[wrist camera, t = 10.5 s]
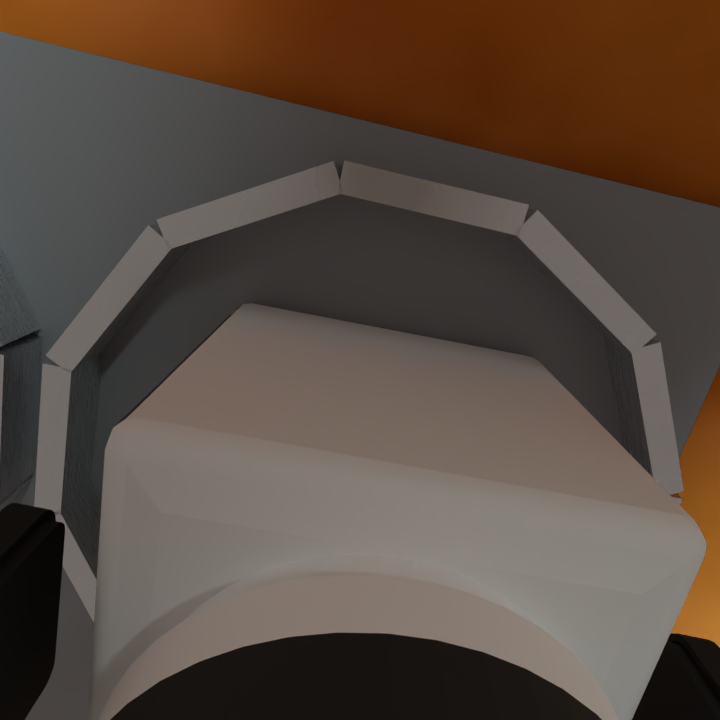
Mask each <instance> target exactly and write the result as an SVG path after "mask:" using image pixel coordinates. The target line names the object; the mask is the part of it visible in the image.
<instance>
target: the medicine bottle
mask: <svg viewBox="0 0 720 720" xmlns="http://www.w3.org/2000/svg"><path fill="white" fill-rule="evenodd" d="M706 546H707V543H706V540H705V538H704V536H703V534H702V532H701V530H700V528H699V527H698V525H697V523H696V521H695V520H694V519H693V518H692V517H691V516H690V515H689V514H688V513H687V512H686V511H685V510H684V509H683V508H682V507H681V506H680V505H679V504H678V503H677V502H676V501H675V500H674V499H673V498H672V497H671V496H670V495H669V494H668V493H667V492H666V491H665V490H664V489H663V487H662V486H661V485H660V484H659V483H658V482H657V481H656V480H655V479H654V478H653V477H652V476H651V475H650V474H649V473H648V472H647V471H646V470H645V469H644V468H643V467H642V466H641V465H640V464H639V463H638V462H637V461H636V460H635V459H634V458H633V457H632V456H631V455H630V454H629V453H628V452H627V451H626V450H625V449H624V448H623V447H622V446H621V445H620V443H619V442H618V441H617V440H616V439H615V438H614V437H613V436H612V435H611V434H610V433H609V432H608V431H607V430H606V429H605V428H604V427H603V426H602V425H601V424H600V423H599V422H598V421H597V420H596V419H595V418H594V417H593V416H592V415H591V414H590V413H589V412H588V411H587V410H586V409H585V408H584V407H583V406H582V405H581V404H580V403H579V402H578V401H577V399H576V398H575V397H574V396H573V395H572V394H571V393H570V392H569V391H568V390H567V389H566V388H565V387H564V386H563V385H562V384H561V383H560V382H559V381H558V380H557V379H556V378H555V377H554V376H553V375H552V374H551V373H550V372H549V371H548V370H547V369H546V368H545V367H544V366H543V365H542V364H541V363H540V362H539V361H538V360H537V359H535V358H533V357H530V356H525V355H520V354H515V353H509V352H504V351H499V350H494V349H489V348H483V347H478V346H473V345H468V344H462V343H457V342H452V341H447V340H442V339H436V338H431V337H426V336H421V335H415V334H410V333H405V332H400V331H394V330H389V329H384V328H379V327H374V326H368V325H363V324H358V323H353V322H347V321H342V320H337V319H332V318H327V317H321V316H316V315H311V314H306V313H300V312H295V311H290V310H285V309H280V308H274V307H269V306H264V305H259V304H253V303H248V304H243V305H241V306H240V307H238V308H237V309H236V310H235V311H234V312H233V313H232V314H230V315H229V316H228V317H227V318H226V319H225V320H224V321H223V322H222V323H221V324H220V325H219V326H218V327H217V328H216V329H215V330H214V331H213V332H212V333H211V334H210V335H209V336H208V337H207V338H206V339H205V340H203V341H202V342H201V343H200V344H199V345H198V346H197V347H196V348H195V349H194V350H193V351H192V352H191V353H190V354H189V355H188V356H187V357H186V358H185V359H184V360H183V361H182V362H181V363H180V364H179V365H178V366H176V367H175V368H174V369H173V370H172V371H171V372H170V373H169V374H168V375H167V376H166V377H165V378H164V379H163V380H162V381H161V382H160V383H159V384H158V385H157V386H156V387H155V388H154V389H153V390H152V391H151V392H149V393H148V394H147V395H146V396H145V397H144V398H143V399H142V400H141V401H140V402H139V403H138V404H137V405H136V406H135V407H134V408H133V409H132V410H131V411H130V412H129V413H128V414H127V415H126V416H125V417H124V418H122V419H121V420H120V421H119V422H118V423H117V424H116V425H115V426H114V427H113V429H112V432H111V434H110V437H109V439H108V442H107V445H106V448H105V456H104V472H103V487H102V503H101V519H100V535H99V551H98V567H97V582H96V598H95V614H94V630H93V646H92V662H91V678H90V693H89V709H88V720H632V718H633V716H634V714H635V711H636V709H637V707H638V705H639V702H640V700H641V698H642V696H643V694H644V691H645V689H646V687H647V685H648V682H649V680H650V678H651V676H652V673H653V671H654V669H655V667H656V664H657V662H658V660H659V658H660V656H661V653H662V651H663V649H664V647H665V644H666V642H667V640H668V638H669V635H670V633H671V631H672V629H673V626H674V624H675V622H676V620H677V618H678V615H679V613H680V611H681V609H682V606H683V604H684V602H685V600H686V597H687V595H688V593H689V591H690V588H691V586H692V584H693V582H694V580H695V577H696V575H697V573H698V571H699V568H700V566H701V564H702V562H703V559H704V557H705V553H706Z"/></svg>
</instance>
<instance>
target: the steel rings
mask: <svg viewBox="0 0 720 720" xmlns="http://www.w3.org/2000/svg"><path fill="white" fill-rule="evenodd" d="M339 194H343V195H347V196H352V197H356V198H360V199H364V200H369V201H373V202H377V203H381V204H386V205H390V206H394V207H398V208H402V209H407V210H411V211H415V212H419V213H424V214H428V215H432V216H436V217H441V218H445V219H449V220H453V221H458V222H462V223H466V224H470V225H474V226H479V227H483V228H487V229H491V230H496V231H500V232H502V233H503V234H504V235H505V236H506V237H507V238H508V239H509V240H510V241H511V242H512V243H513V244H514V245H515V246H516V247H517V248H518V249H519V250H520V251H521V252H522V253H523V254H524V255H525V256H526V257H527V258H528V259H529V260H530V261H531V262H532V263H533V265H534V266H535V267H536V268H537V269H538V270H539V271H540V272H541V273H542V274H543V275H544V276H545V277H546V278H547V279H548V280H549V281H550V282H551V283H552V284H553V285H554V286H555V287H556V288H557V289H558V290H559V291H560V292H561V293H562V294H563V295H564V296H565V297H566V298H567V299H568V300H569V301H570V302H571V303H572V304H573V305H574V306H575V307H576V308H577V309H578V310H579V311H580V312H581V313H582V314H583V315H584V316H585V317H586V318H587V319H588V320H589V321H590V322H591V323H592V324H593V325H594V326H595V327H596V329H597V330H598V331H599V332H600V333H601V334H602V336H603V341H604V346H605V352H606V357H607V362H608V368H609V373H610V378H611V384H612V389H613V394H614V400H615V405H616V410H617V416H618V421H619V426H620V432H621V437H622V442H623V448H624V449H625V450H626V451H627V452H628V453H629V454H630V455H631V456H632V457H633V458H634V459H635V460H636V461H637V462H638V463H639V464H640V465H641V466H642V467H643V468H644V469H645V470H646V471H647V472H648V473H649V474H650V475H651V476H652V477H653V478H654V479H655V480H656V481H657V482H658V483H659V484H660V485H661V486H662V487H663V489H664V490H665V491H666V492H667V493H668V494H669V495H670V496H671V497H672V498H673V499H674V500H675V501H676V502H677V503H678V504H679V505H680V504H681V502H682V500H683V499H682V498H681V497H680V496H679V495H678V494H677V493H679V492H683V491H684V488H683V482H682V476H681V469H680V463H679V457H678V450H677V444H676V437H675V431H674V425H673V418H672V412H671V405H670V399H669V393H668V386H667V380H666V373H665V367H664V361H663V354H662V348H661V342H659V341H658V340H656V339H654V338H653V337H654V336H655V335H656V333H655V332H654V331H653V330H652V329H651V328H650V327H649V326H648V325H647V324H646V322H645V321H644V320H643V319H642V318H641V317H640V316H639V315H638V314H637V313H636V312H635V311H634V310H633V309H632V308H631V307H630V306H629V305H628V304H627V303H626V302H625V301H624V299H623V298H622V297H621V296H620V295H619V294H618V293H617V292H616V291H615V290H614V289H613V288H612V287H611V286H610V285H609V284H608V283H607V282H606V281H605V280H604V279H603V277H602V276H601V275H600V274H599V273H598V272H597V271H596V270H595V269H594V268H593V267H592V266H591V265H590V264H589V263H588V262H587V261H586V260H585V259H584V258H583V257H582V256H581V254H580V253H579V252H578V251H577V250H576V249H575V248H574V247H573V246H572V245H571V244H570V243H569V242H568V241H567V240H566V239H565V238H564V237H563V236H562V235H561V234H560V232H559V231H558V230H557V229H556V228H555V227H554V226H553V225H552V224H551V223H550V222H549V221H548V220H547V219H546V218H545V217H544V216H543V215H542V214H541V213H540V212H539V211H538V210H536V209H529V208H528V206H529V205H528V204H524V203H520V202H515V201H511V200H507V199H503V198H499V197H495V196H490V195H486V194H482V193H478V192H474V191H470V190H465V189H461V188H457V187H453V186H449V185H445V184H440V183H436V182H432V181H428V180H424V179H420V178H415V177H411V176H407V175H403V174H399V173H395V172H390V171H386V170H382V169H378V168H374V167H369V166H365V165H361V164H357V163H353V162H349V161H344V164H343V169H342V174H341V173H340V170H339V167H338V164H337V163H336V162H335V161H332V162H329V163H326V164H323V165H320V166H317V167H314V168H311V169H308V170H305V171H302V172H299V173H295V174H292V175H289V176H286V177H283V178H280V179H277V180H274V181H271V182H268V183H265V184H262V185H259V186H256V187H253V188H250V189H247V190H244V191H241V192H238V193H235V194H232V195H229V196H226V197H223V198H220V199H217V200H214V201H211V202H208V203H205V204H202V205H199V206H196V207H193V208H190V209H187V210H184V211H181V212H178V213H174V214H171V215H168V216H165V217H162V218H159V219H156V220H157V222H158V223H157V224H152V225H148V226H147V227H146V229H145V230H144V231H143V232H142V234H141V235H140V236H139V238H138V239H137V240H136V241H135V243H134V244H133V245H132V246H131V248H130V249H129V250H128V251H127V253H126V254H125V255H124V257H123V258H122V259H121V260H120V262H119V263H118V264H117V265H116V267H115V268H114V269H113V270H112V272H111V273H110V274H109V276H108V277H107V278H106V279H105V281H104V282H103V283H102V284H101V286H100V287H99V288H98V290H97V291H96V292H95V293H94V295H93V296H92V297H91V298H90V300H89V301H88V302H87V303H86V305H85V306H84V307H83V309H82V310H81V311H80V312H79V314H78V315H77V316H76V317H75V319H74V320H73V321H72V322H71V324H70V325H69V326H68V328H67V329H66V330H65V331H64V333H63V334H62V335H61V336H60V338H59V339H58V340H57V341H56V343H55V344H54V345H53V347H52V348H51V349H50V350H49V352H48V353H47V354H46V356H47V357H48V358H50V359H49V360H48V361H46V362H44V363H43V365H42V352H43V336H39V335H34V334H30V333H32V332H34V331H36V330H39V329H41V326H40V324H39V322H38V320H37V318H36V316H35V314H34V312H33V310H32V308H31V306H30V303H29V301H28V299H27V297H26V295H25V293H24V291H23V289H22V287H21V285H20V283H19V281H18V279H17V277H16V275H15V273H14V271H13V269H12V267H11V265H10V263H9V261H8V259H7V257H6V255H5V253H4V251H3V249H2V247H1V245H0V511H1V510H2V509H3V508H4V507H6V506H7V505H9V504H10V503H12V501H13V500H14V499H15V498H16V497H17V495H18V494H19V493H20V492H21V491H22V489H23V488H24V487H25V486H26V485H27V484H28V482H29V481H30V480H31V479H32V478H33V476H31V474H32V473H33V472H35V471H36V484H35V501H34V507H40V508H45V509H50V510H52V511H54V513H55V516H56V521H57V522H62V523H64V525H65V540H64V552H63V565H62V566H63V568H64V569H65V571H66V573H67V575H68V577H69V578H70V580H71V582H72V584H73V586H74V588H75V589H76V591H77V593H78V595H79V597H80V598H81V600H82V602H83V604H84V606H85V607H86V609H87V611H88V613H89V615H90V617H91V618H92V620H93V622H94V614H95V598H96V582H97V567H98V551H99V535H100V519H101V503H102V500H101V498H100V496H99V494H98V492H97V490H96V488H95V486H94V484H93V482H92V480H91V478H92V467H93V456H94V445H95V434H96V424H97V413H98V402H99V391H100V380H101V370H102V359H103V351H104V350H105V349H106V348H107V346H108V345H109V344H110V343H111V341H112V340H113V339H114V338H115V337H116V335H117V334H118V333H119V332H120V330H121V329H122V328H123V327H124V326H125V324H126V323H127V322H128V321H129V320H130V318H131V317H132V316H133V315H134V313H135V312H136V311H137V310H138V309H139V307H140V306H141V305H142V304H143V302H144V301H145V300H146V299H147V298H148V296H149V295H150V294H151V293H152V291H153V290H154V289H155V288H156V287H157V285H158V284H159V283H160V282H161V281H162V279H163V278H164V277H165V276H166V274H167V273H168V272H169V271H170V270H171V268H172V267H173V266H174V265H175V263H176V262H177V261H178V260H179V259H180V257H181V256H182V255H183V254H184V252H185V251H186V250H187V249H188V248H189V246H190V245H191V244H192V243H193V242H194V241H197V240H200V239H203V238H206V237H209V236H212V235H215V234H218V233H221V232H224V231H227V230H231V229H234V228H237V227H240V226H243V225H246V224H249V223H252V222H255V221H258V220H261V219H264V218H268V217H271V216H274V215H277V214H280V213H283V212H286V211H289V210H292V209H295V208H298V207H301V206H305V205H308V204H311V203H314V202H317V201H320V200H323V199H326V198H329V197H332V196H335V195H339ZM41 369H42V382H41ZM40 386H41V399H40ZM39 403H40V416H39ZM38 420H39V433H38ZM37 438H38V450H37ZM36 455H37V467H36Z"/></svg>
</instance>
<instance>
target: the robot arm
mask: <svg viewBox="0 0 720 720" xmlns="http://www.w3.org/2000/svg"><path fill="white" fill-rule="evenodd" d="M64 540H65V525H64V523H62V522H57V521H56V516H55V513H54V511H52V510H50V509H45V508H40V507H34V506H29V505H24V504H19V503H10V504H9V505H7V506H6V507H4V508H3V509H2V510H1V511H0V720H25V718H26V717H27V715H28V714H29V712H30V711H31V709H32V707H33V706H34V704H35V703H36V701H37V700H38V698H39V696H40V695H41V693H42V692H43V690H44V688H45V687H46V685H47V683H48V681H49V678H50V676H51V673H52V671H53V667H54V663H55V654H56V642H57V629H58V616H59V603H60V591H61V578H62V565H63V552H64ZM632 720H720V648H719V647H718V646H717V645H716V644H715V643H714V642H712V641H710V640H707V639H702V638H697V637H692V636H687V635H682V634H670V635H669V638H668V640H667V642H666V644H665V647H664V649H663V651H662V653H661V656H660V658H659V660H658V662H657V664H656V667H655V669H654V671H653V673H652V676H651V678H650V680H649V682H648V685H647V687H646V689H645V691H644V694H643V696H642V698H641V700H640V702H639V705H638V707H637V709H636V711H635V714H634V716H633V718H632Z"/></svg>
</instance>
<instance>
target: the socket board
mask: <svg viewBox="0 0 720 720" xmlns="http://www.w3.org/2000/svg"><path fill="white" fill-rule="evenodd" d="M332 161H335V162H336V163H337V164H338V167H339V170H340V173H341V174H342V169H343V164H344V161H349V162H353V163H357V164H361V165H365V166H369V167H374V168H378V169H382V170H386V171H390V172H395V173H399V174H403V175H407V176H411V177H415V178H420V179H424V180H428V181H432V182H436V183H440V184H445V185H449V186H453V187H457V188H461V189H465V190H470V191H474V192H478V193H482V194H486V195H490V196H495V197H499V198H503V199H507V200H511V201H515V202H520V203H524V204H528V205H529V206H528V208H529V209H536V210H538V211H539V212H540V213H541V214H542V215H543V216H544V217H545V218H546V219H547V220H548V221H549V222H550V223H551V224H552V225H553V226H554V227H555V228H556V229H557V230H558V231H559V232H560V234H561V235H562V236H563V237H564V238H565V239H566V240H567V241H568V242H569V243H570V244H571V245H572V246H573V247H574V248H575V249H576V250H577V251H578V252H579V253H580V254H581V256H582V257H583V258H584V259H585V260H586V261H587V262H588V263H589V264H590V265H591V266H592V267H593V268H594V269H595V270H596V271H597V272H598V273H599V274H600V275H601V276H602V277H603V279H604V280H605V281H606V282H607V283H608V284H609V285H610V286H611V287H612V288H613V289H614V290H615V291H616V292H617V293H618V294H619V295H620V296H621V297H622V298H623V299H624V301H625V302H626V303H627V304H628V305H629V306H630V307H631V308H632V309H633V310H634V311H635V312H636V313H637V314H638V315H639V316H640V317H641V318H642V319H643V320H644V321H645V322H646V324H647V325H648V326H649V327H650V328H651V329H652V330H653V331H654V332H655V333H656V335H655V336H654V337H653V338H654V339H656V340H658V341H659V342H661V348H662V354H663V361H664V367H665V373H666V380H667V386H668V393H669V399H670V405H671V412H672V418H673V425H674V431H675V437H676V444H677V450H678V457H680V455H681V453H682V450H683V448H684V446H685V443H686V441H687V439H688V437H689V434H690V432H691V430H692V428H693V425H694V423H695V421H696V419H697V416H698V414H699V412H700V410H701V407H702V405H703V403H704V401H705V398H706V396H707V394H708V391H709V389H710V387H711V385H712V382H713V380H714V378H715V376H716V373H717V371H718V369H719V367H720V207H716V206H712V205H708V204H704V203H700V202H696V201H692V200H688V199H684V198H679V197H675V196H671V195H667V194H663V193H659V192H655V191H651V190H647V189H643V188H639V187H634V186H630V185H626V184H622V183H618V182H614V181H610V180H606V179H602V178H598V177H594V176H589V175H585V174H581V173H577V172H573V171H569V170H565V169H561V168H557V167H553V166H549V165H544V164H540V163H536V162H532V161H528V160H524V159H520V158H516V157H512V156H508V155H504V154H499V153H495V152H491V151H487V150H483V149H479V148H475V147H471V146H467V145H463V144H459V143H454V142H450V141H446V140H442V139H438V138H434V137H430V136H426V135H422V134H418V133H414V132H410V131H405V130H401V129H397V128H393V127H389V126H385V125H381V124H377V123H373V122H369V121H365V120H360V119H356V118H352V117H348V116H344V115H340V114H336V113H332V112H328V111H324V110H320V109H315V108H311V107H307V106H303V105H299V104H295V103H291V102H287V101H283V100H279V99H275V98H270V97H266V96H262V95H258V94H254V93H250V92H246V91H242V90H238V89H234V88H230V87H225V86H221V85H217V84H213V83H209V82H205V81H201V80H197V79H193V78H189V77H185V76H180V75H176V74H172V73H168V72H164V71H160V70H156V69H152V68H148V67H144V66H140V65H135V64H131V63H127V62H123V61H119V60H115V59H111V58H107V57H103V56H99V55H95V54H91V53H86V52H82V51H78V50H74V49H70V48H66V47H62V46H58V45H54V44H50V43H46V42H41V41H37V40H33V39H29V38H25V37H21V36H17V35H13V34H9V33H5V32H1V31H0V245H1V247H2V249H3V251H4V253H5V255H6V257H7V259H8V261H9V263H10V265H11V267H12V269H13V271H14V273H15V275H16V277H17V279H18V281H19V283H20V285H21V287H22V289H23V291H24V293H25V295H26V297H27V299H28V301H29V303H30V306H31V308H32V310H33V312H34V314H35V316H36V318H37V320H38V322H39V324H40V326H41V329H39V330H36V331H34V332H32V333H30V334H34V335H39V336H43V352H42V365H43V363H44V362H46V361H48V360H49V359H50V358H48V357H47V356H46V354H47V353H48V352H49V350H50V349H51V348H52V347H53V345H54V344H55V343H56V341H57V340H58V339H59V338H60V336H61V335H62V334H63V333H64V331H65V330H66V329H67V328H68V326H69V325H70V324H71V322H72V321H73V320H74V319H75V317H76V316H77V315H78V314H79V312H80V311H81V310H82V309H83V307H84V306H85V305H86V303H87V302H88V301H89V300H90V298H91V297H92V296H93V295H94V293H95V292H96V291H97V290H98V288H99V287H100V286H101V284H102V283H103V282H104V281H105V279H106V278H107V277H108V276H109V274H110V273H111V272H112V270H113V269H114V268H115V267H116V265H117V264H118V263H119V262H120V260H121V259H122V258H123V257H124V255H125V254H126V253H127V251H128V250H129V249H130V248H131V246H132V245H133V244H134V243H135V241H136V240H137V239H138V238H139V236H140V235H141V234H142V232H143V231H144V230H145V229H146V227H147V226H148V225H152V224H157V223H158V222H157V220H156V219H159V218H162V217H165V216H168V215H171V214H174V213H178V212H181V211H184V210H187V209H190V208H193V207H196V206H199V205H202V204H205V203H208V202H211V201H214V200H217V199H220V198H223V197H226V196H229V195H232V194H235V193H238V192H241V191H244V190H247V189H250V188H253V187H256V186H259V185H262V184H265V183H268V182H271V181H274V180H277V179H280V178H283V177H286V176H289V175H292V174H295V173H299V172H302V171H305V170H308V169H311V168H314V167H317V166H320V165H323V164H326V163H329V162H332ZM248 303H253V304H259V305H264V306H269V307H274V308H280V309H285V310H290V311H295V312H300V313H306V314H311V315H316V316H321V317H327V318H332V319H337V320H342V321H347V322H353V323H358V324H363V325H368V326H374V327H379V328H384V329H389V330H394V331H400V332H405V333H410V334H415V335H421V336H426V337H431V338H436V339H442V340H447V341H452V342H457V343H462V344H468V345H473V346H478V347H483V348H489V349H494V350H499V351H504V352H509V353H515V354H520V355H525V356H530V357H533V358H535V359H537V360H538V361H539V362H540V363H541V364H542V365H543V366H544V367H545V368H546V369H547V370H548V371H549V372H550V373H551V374H552V375H553V376H554V377H555V378H556V379H557V380H558V381H559V382H560V383H561V384H562V385H563V386H564V387H565V388H566V389H567V390H568V391H569V392H570V393H571V394H572V395H573V396H574V397H575V398H576V399H577V401H578V402H579V403H580V404H581V405H582V406H583V407H584V408H585V409H586V410H587V411H588V412H589V413H590V414H591V415H592V416H593V417H594V418H595V419H596V420H597V421H598V422H599V423H600V424H601V425H602V426H603V427H604V428H605V429H606V430H607V431H608V432H609V433H610V434H611V435H612V436H613V437H614V438H615V439H616V440H617V441H618V442H619V443H620V445H621V446H622V447H623V442H622V437H621V432H620V426H619V421H618V416H617V410H616V405H615V400H614V394H613V389H612V384H611V378H610V373H609V368H608V362H607V357H606V352H605V346H604V341H603V336H602V334H601V333H600V332H599V331H598V330H597V329H596V327H595V326H594V325H593V324H592V323H591V322H590V321H589V320H588V319H587V318H586V317H585V316H584V315H583V314H582V313H581V312H580V311H579V310H578V309H577V308H576V307H575V306H574V305H573V304H572V303H571V302H570V301H569V300H568V299H567V298H566V297H565V296H564V295H563V294H562V293H561V292H560V291H559V290H558V289H557V288H556V287H555V286H554V285H553V284H552V283H551V282H550V281H549V280H548V279H547V278H546V277H545V276H544V275H543V274H542V273H541V272H540V271H539V270H538V269H537V268H536V267H535V266H534V265H533V263H532V262H531V261H530V260H529V259H528V258H527V257H526V256H525V255H524V254H523V253H522V252H521V251H520V250H519V249H518V248H517V247H516V246H515V245H514V244H513V243H512V242H511V241H510V240H509V239H508V238H507V237H506V236H505V235H504V234H503V233H502V232H500V231H496V230H491V229H487V228H483V227H479V226H474V225H470V224H466V223H462V222H458V221H453V220H449V219H445V218H441V217H436V216H432V215H428V214H424V213H419V212H415V211H411V210H407V209H402V208H398V207H394V206H390V205H386V204H381V203H377V202H373V201H369V200H364V199H360V198H356V197H352V196H347V195H343V194H339V195H335V196H332V197H329V198H326V199H323V200H320V201H317V202H314V203H311V204H308V205H305V206H301V207H298V208H295V209H292V210H289V211H286V212H283V213H280V214H277V215H274V216H271V217H268V218H264V219H261V220H258V221H255V222H252V223H249V224H246V225H243V226H240V227H237V228H234V229H231V230H227V231H224V232H221V233H218V234H215V235H212V236H209V237H206V238H203V239H200V240H197V241H194V242H193V243H192V244H191V245H190V246H189V248H188V249H187V250H186V251H185V252H184V254H183V255H182V256H181V257H180V259H179V260H178V261H177V262H176V263H175V265H174V266H173V267H172V268H171V270H170V271H169V272H168V273H167V274H166V276H165V277H164V278H163V279H162V281H161V282H160V283H159V284H158V285H157V287H156V288H155V289H154V290H153V291H152V293H151V294H150V295H149V296H148V298H147V299H146V300H145V301H144V302H143V304H142V305H141V306H140V307H139V309H138V310H137V311H136V312H135V313H134V315H133V316H132V317H131V318H130V320H129V321H128V322H127V323H126V324H125V326H124V327H123V328H122V329H121V330H120V332H119V333H118V334H117V335H116V337H115V338H114V339H113V340H112V341H111V343H110V344H109V345H108V346H107V348H106V349H105V350H104V351H103V359H102V370H101V380H100V391H99V402H98V413H97V424H96V434H95V445H94V456H93V467H92V478H91V480H92V482H93V484H94V486H95V488H96V490H97V492H98V494H99V496H100V498H101V500H102V487H103V472H104V456H105V448H106V445H107V442H108V439H109V437H110V434H111V432H112V429H113V427H114V426H115V425H116V424H117V423H118V422H119V421H120V420H121V419H122V418H124V417H125V416H126V415H127V414H128V413H129V412H130V411H131V410H132V409H133V408H134V407H135V406H136V405H137V404H138V403H139V402H140V401H141V400H142V399H143V398H144V397H145V396H146V395H147V394H148V393H149V392H151V391H152V390H153V389H154V388H155V387H156V386H157V385H158V384H159V383H160V382H161V381H162V380H163V379H164V378H165V377H166V376H167V375H168V374H169V373H170V372H171V371H172V370H173V369H174V368H175V367H176V366H178V365H179V364H180V363H181V362H182V361H183V360H184V359H185V358H186V357H187V356H188V355H189V354H190V353H191V352H192V351H193V350H194V349H195V348H196V347H197V346H198V345H199V344H200V343H201V342H202V341H203V340H205V339H206V338H207V337H208V336H209V335H210V334H211V333H212V332H213V331H214V330H215V329H216V328H217V327H218V326H219V325H220V324H221V323H222V322H223V321H224V320H225V319H226V318H227V317H228V316H229V315H230V314H232V313H233V312H234V311H235V310H236V309H237V308H238V307H240V306H241V305H243V304H248ZM41 382H42V369H41ZM40 399H41V386H40ZM39 416H40V403H39ZM38 433H39V420H38ZM37 450H38V438H37ZM36 467H37V455H36ZM31 476H33V478H32V479H31V480H30V481H29V482H28V484H27V485H26V486H25V487H24V488H23V489H22V491H21V492H20V493H19V494H18V495H17V497H16V498H15V499H14V500H13V501H12V503H19V504H24V505H29V506H34V501H35V484H36V471H35V472H33V473H32V474H31ZM93 630H94V622H93V620H92V618H91V617H90V615H89V613H88V611H87V609H86V607H85V606H84V604H83V602H82V600H81V598H80V597H79V595H78V593H77V591H76V589H75V588H74V586H73V584H72V582H71V580H70V578H69V577H68V575H67V573H66V571H65V569H64V568H63V566H62V578H61V591H60V603H59V616H58V629H57V642H56V654H55V663H54V667H53V671H52V673H51V676H50V678H49V681H48V683H47V685H46V687H45V688H44V690H43V692H42V693H41V695H40V696H39V698H38V700H37V701H36V703H35V704H34V706H33V707H32V709H31V711H30V712H29V714H28V715H27V717H26V718H25V720H88V709H89V693H90V678H91V662H92V646H93Z"/></svg>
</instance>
